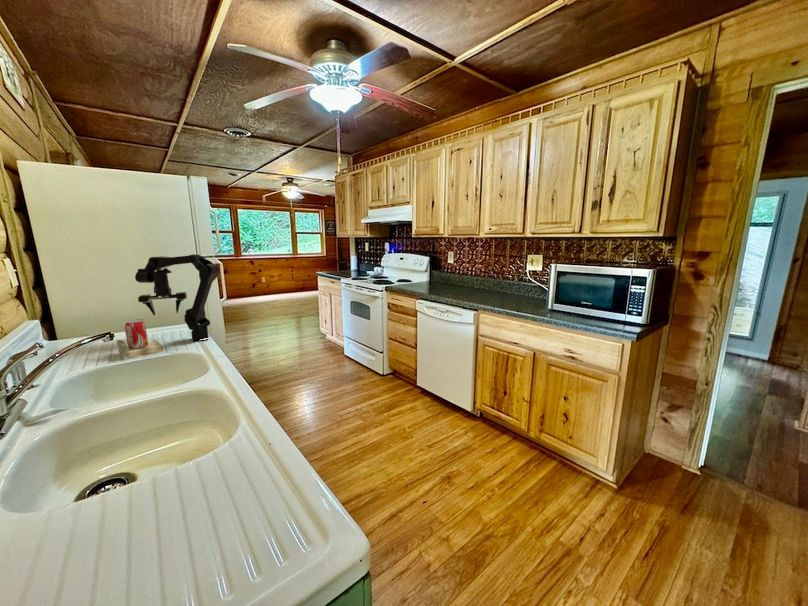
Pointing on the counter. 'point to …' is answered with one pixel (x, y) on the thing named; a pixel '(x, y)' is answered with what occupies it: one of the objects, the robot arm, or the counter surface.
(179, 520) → the counter surface
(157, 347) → the cleat stand
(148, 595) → the counter surface
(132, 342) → the soda can
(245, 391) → the counter surface
